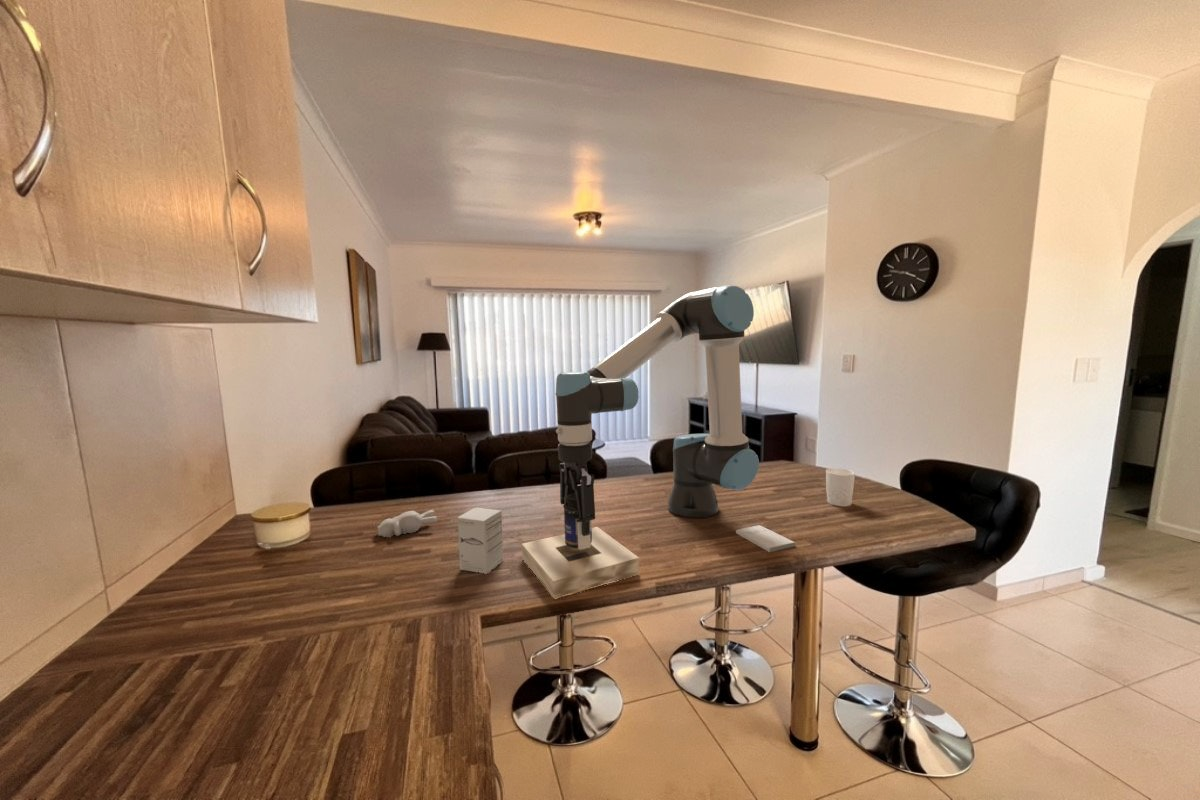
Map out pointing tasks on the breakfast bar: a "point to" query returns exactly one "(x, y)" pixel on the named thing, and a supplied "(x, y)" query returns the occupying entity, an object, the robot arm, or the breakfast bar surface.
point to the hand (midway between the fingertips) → (577, 542)
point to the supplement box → (480, 540)
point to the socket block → (578, 563)
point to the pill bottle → (572, 522)
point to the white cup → (839, 486)
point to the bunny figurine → (405, 523)
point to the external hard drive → (765, 538)
